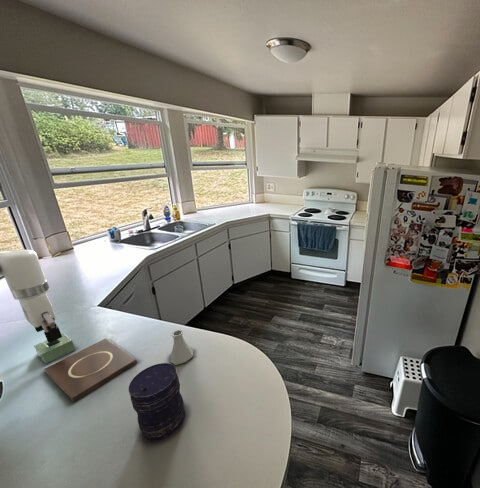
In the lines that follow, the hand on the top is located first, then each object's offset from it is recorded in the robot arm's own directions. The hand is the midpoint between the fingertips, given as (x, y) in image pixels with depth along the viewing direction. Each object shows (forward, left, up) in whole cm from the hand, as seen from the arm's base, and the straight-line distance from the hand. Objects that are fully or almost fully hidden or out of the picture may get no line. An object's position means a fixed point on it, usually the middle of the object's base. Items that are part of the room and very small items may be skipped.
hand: (49, 334), depth 83 cm
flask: (+20, -38, -8) cm, 44 cm away
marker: (0, 0, -8) cm, 8 cm away
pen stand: (0, 0, -8) cm, 8 cm away
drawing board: (+3, -18, -8) cm, 20 cm away
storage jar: (+4, -55, -8) cm, 56 cm away
